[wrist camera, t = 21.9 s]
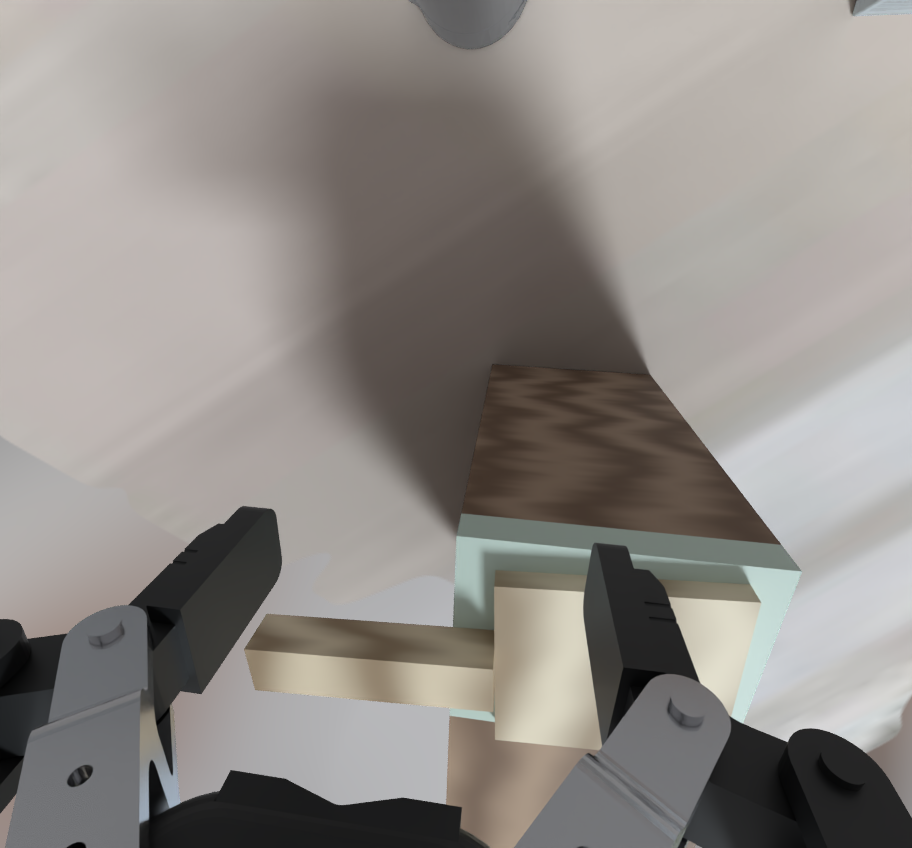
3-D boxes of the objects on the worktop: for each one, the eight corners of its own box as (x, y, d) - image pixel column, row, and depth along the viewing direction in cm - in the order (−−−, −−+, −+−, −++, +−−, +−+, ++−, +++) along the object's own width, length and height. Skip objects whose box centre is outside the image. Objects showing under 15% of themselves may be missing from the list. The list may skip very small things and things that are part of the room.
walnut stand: (479, 564, 62) (444, 841, 35) (492, 364, 52) (456, 535, 24) (610, 578, 60) (681, 881, 33) (650, 374, 50) (801, 571, 23)
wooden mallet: (287, 700, 31) (268, 739, 29) (252, 556, 27) (227, 588, 24) (711, 740, 28) (728, 788, 25) (750, 584, 23) (774, 624, 21)
